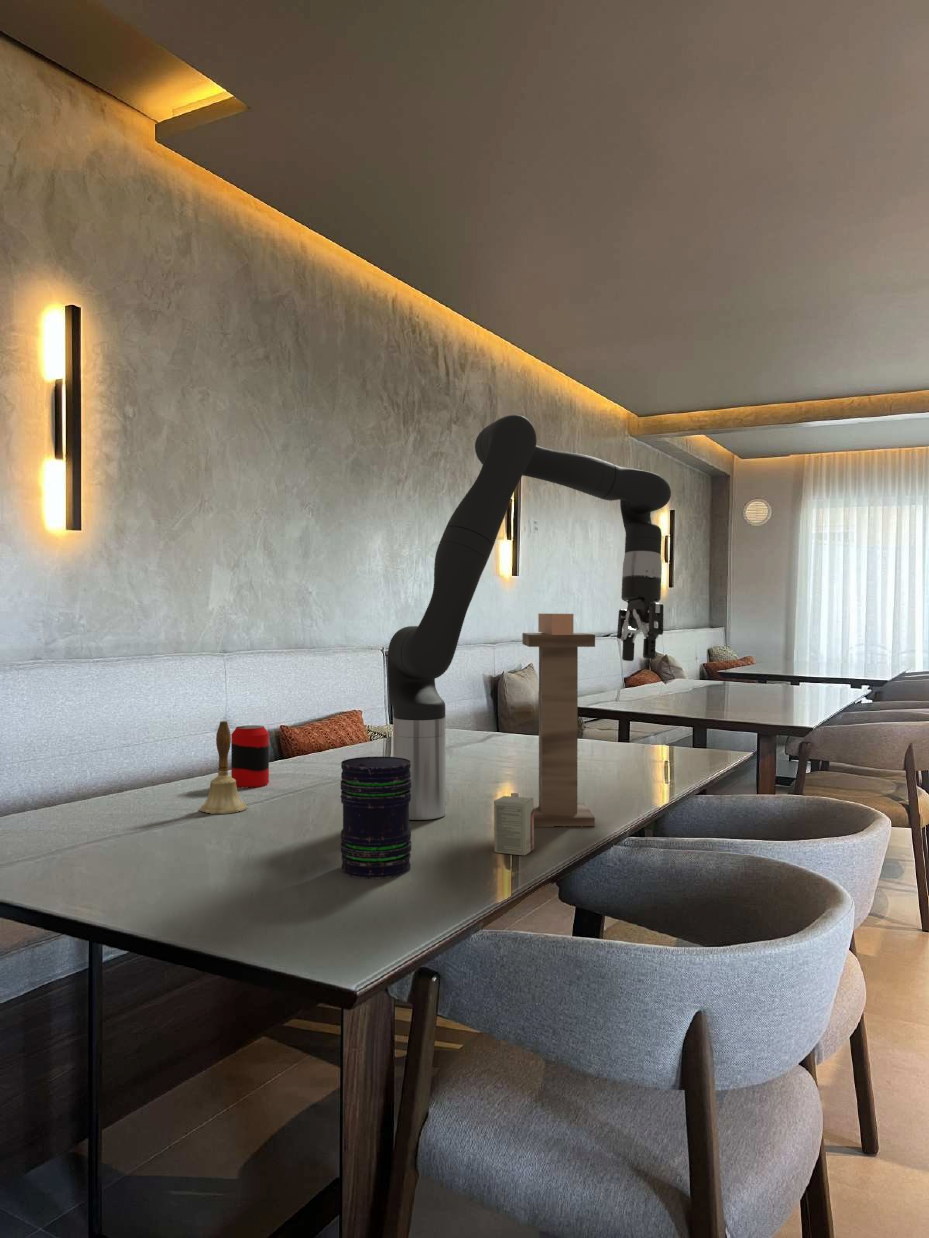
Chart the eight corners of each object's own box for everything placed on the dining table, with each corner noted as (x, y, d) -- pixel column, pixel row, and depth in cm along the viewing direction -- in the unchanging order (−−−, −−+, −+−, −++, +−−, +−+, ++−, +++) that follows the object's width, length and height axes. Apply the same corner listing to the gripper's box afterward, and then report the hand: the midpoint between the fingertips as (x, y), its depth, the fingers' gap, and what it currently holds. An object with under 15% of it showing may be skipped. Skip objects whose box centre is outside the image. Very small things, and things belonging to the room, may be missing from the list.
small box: (535, 849, 141) (534, 797, 141) (525, 856, 138) (525, 802, 137) (503, 846, 143) (503, 794, 143) (493, 852, 140) (493, 799, 140)
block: (573, 634, 155) (573, 613, 155) (552, 634, 155) (552, 613, 155) (556, 631, 179) (556, 613, 179) (538, 631, 179) (538, 613, 179)
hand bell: (196, 807, 172) (196, 720, 172) (241, 803, 176) (241, 718, 175) (203, 816, 165) (203, 725, 164) (251, 811, 168) (251, 722, 168)
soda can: (230, 782, 197) (230, 725, 197) (267, 780, 199) (266, 724, 199) (232, 789, 190) (232, 729, 189) (270, 787, 192) (270, 728, 192)
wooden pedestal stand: (594, 826, 157) (595, 634, 156) (528, 826, 156) (529, 634, 156) (582, 808, 171) (583, 632, 170) (522, 809, 170) (522, 632, 170)
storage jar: (376, 855, 138) (376, 754, 138) (426, 867, 132) (426, 760, 131) (325, 870, 130) (325, 762, 130) (376, 883, 124) (376, 770, 124)
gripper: (608, 579, 189) (604, 660, 187) (642, 569, 176) (638, 655, 174) (641, 583, 191) (638, 663, 189) (677, 574, 178) (674, 659, 176)
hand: (638, 659), depth 181 cm, fingers open, 8 cm apart
